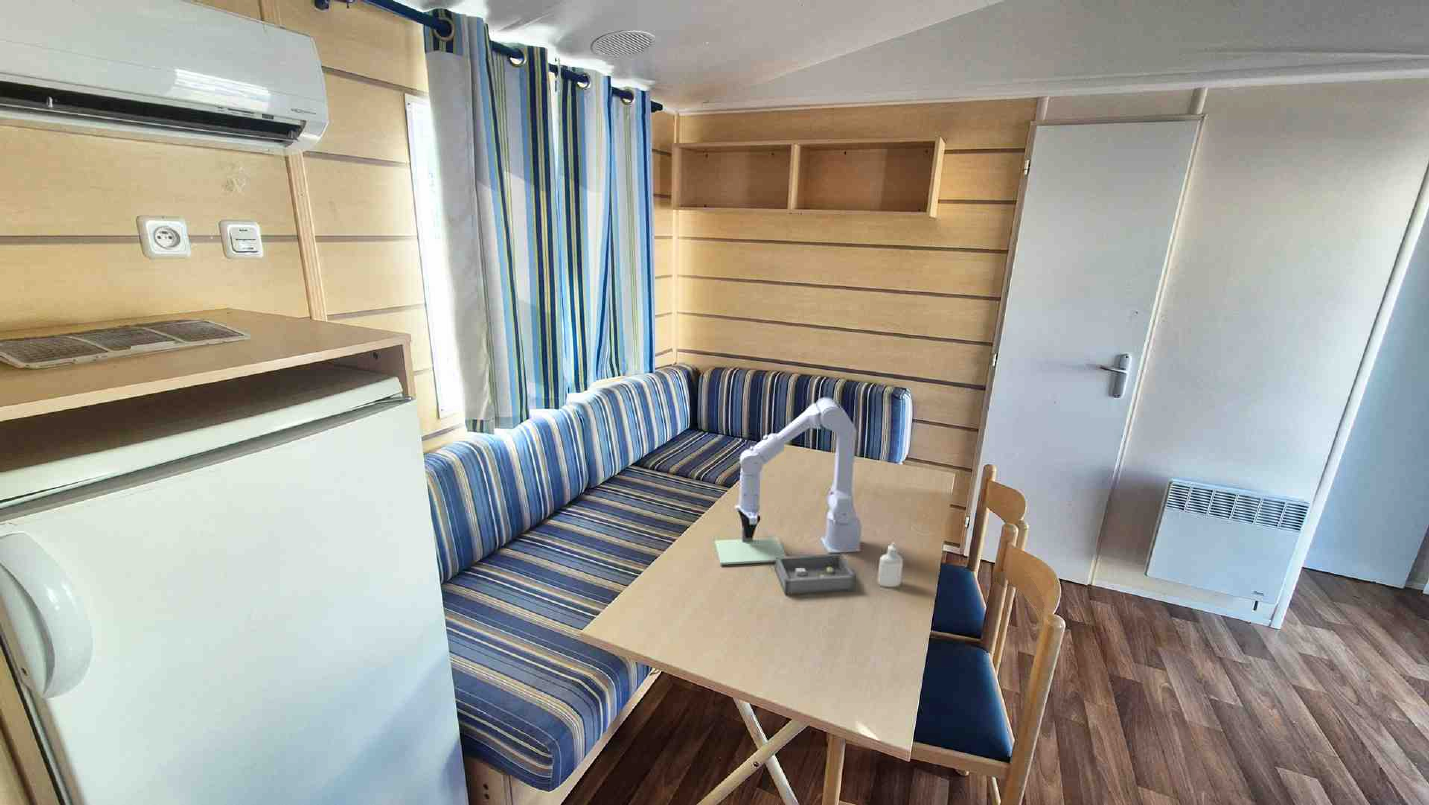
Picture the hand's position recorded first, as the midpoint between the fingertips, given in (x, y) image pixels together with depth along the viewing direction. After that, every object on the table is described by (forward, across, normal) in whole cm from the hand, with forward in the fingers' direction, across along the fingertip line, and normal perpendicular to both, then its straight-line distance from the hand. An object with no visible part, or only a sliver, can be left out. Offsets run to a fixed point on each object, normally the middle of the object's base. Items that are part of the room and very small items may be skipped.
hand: (747, 534), depth 165 cm
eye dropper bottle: (+3, +22, +33) cm, 40 cm away
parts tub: (+3, +19, +14) cm, 24 cm away
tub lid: (+3, +4, 0) cm, 5 cm away
